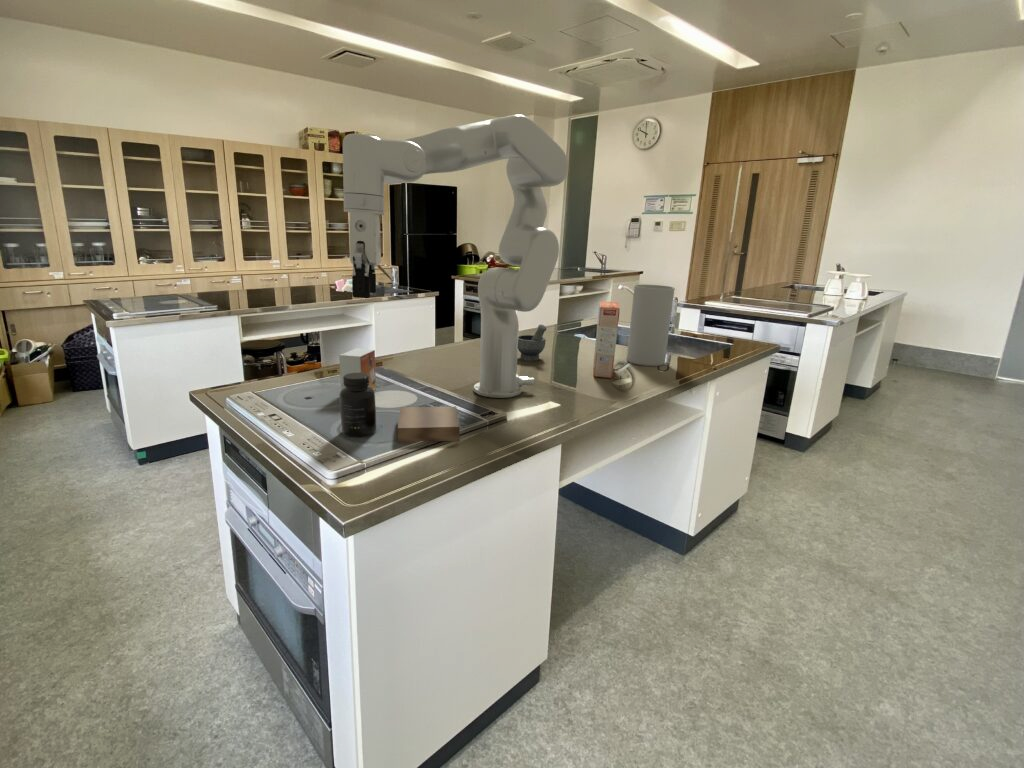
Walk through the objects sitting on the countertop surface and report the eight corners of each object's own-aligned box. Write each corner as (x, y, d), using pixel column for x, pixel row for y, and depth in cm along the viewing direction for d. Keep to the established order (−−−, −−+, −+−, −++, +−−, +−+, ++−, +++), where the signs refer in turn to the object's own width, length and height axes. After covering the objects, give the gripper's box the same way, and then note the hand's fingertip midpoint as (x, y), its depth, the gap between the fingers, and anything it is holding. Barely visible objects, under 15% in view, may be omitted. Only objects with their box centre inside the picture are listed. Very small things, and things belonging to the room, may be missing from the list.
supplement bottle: (345, 425, 108) (342, 370, 104) (379, 425, 108) (377, 371, 105) (338, 438, 101) (334, 380, 98) (373, 438, 102) (371, 380, 98)
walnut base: (456, 419, 114) (456, 406, 113) (459, 440, 102) (459, 426, 101) (400, 420, 112) (400, 407, 111) (397, 442, 100) (397, 428, 99)
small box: (362, 398, 124) (360, 356, 121) (340, 396, 125) (338, 354, 122) (376, 389, 132) (375, 349, 129) (356, 387, 133) (354, 347, 130)
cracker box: (613, 379, 150) (620, 307, 144) (592, 377, 151) (599, 306, 145) (612, 367, 163) (618, 301, 157) (593, 365, 164) (598, 300, 158)
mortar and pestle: (509, 356, 171) (510, 321, 168) (529, 353, 177) (531, 318, 174) (532, 364, 163) (534, 326, 160) (553, 360, 169) (555, 324, 166)
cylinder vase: (627, 365, 166) (636, 287, 159) (625, 356, 178) (632, 283, 171) (667, 368, 165) (677, 289, 158) (661, 359, 177) (671, 285, 170)
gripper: (379, 204, 91) (379, 301, 96) (388, 209, 108) (387, 291, 112) (335, 200, 90) (337, 298, 95) (351, 206, 107) (352, 289, 111)
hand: (364, 294), depth 103 cm, fingers open, 9 cm apart
